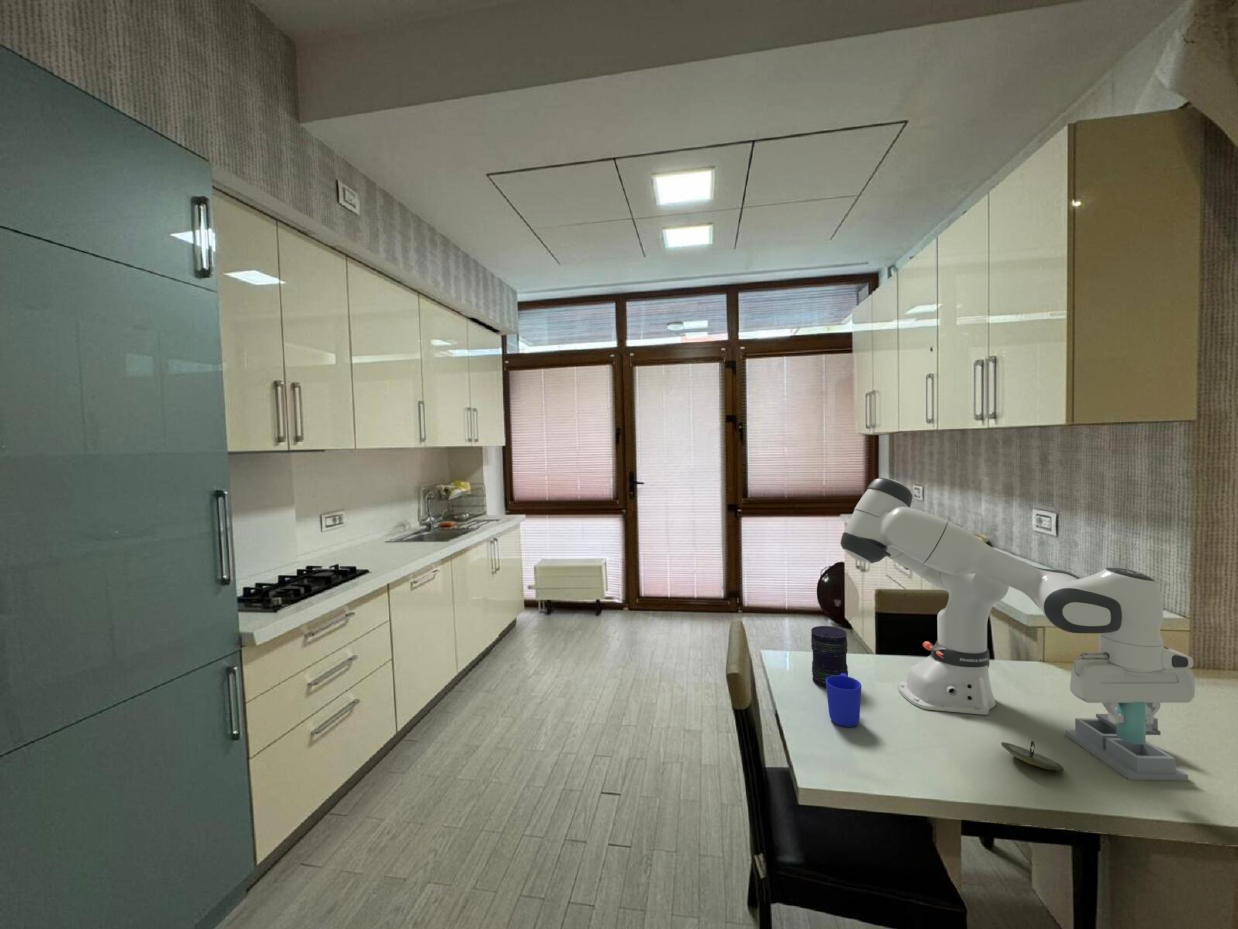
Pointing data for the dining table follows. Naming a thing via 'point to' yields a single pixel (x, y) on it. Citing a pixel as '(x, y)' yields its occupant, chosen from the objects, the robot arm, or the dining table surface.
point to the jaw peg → (1132, 722)
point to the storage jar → (828, 653)
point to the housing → (1124, 752)
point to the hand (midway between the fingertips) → (1130, 722)
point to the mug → (843, 699)
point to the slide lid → (1150, 728)
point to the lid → (1032, 757)
